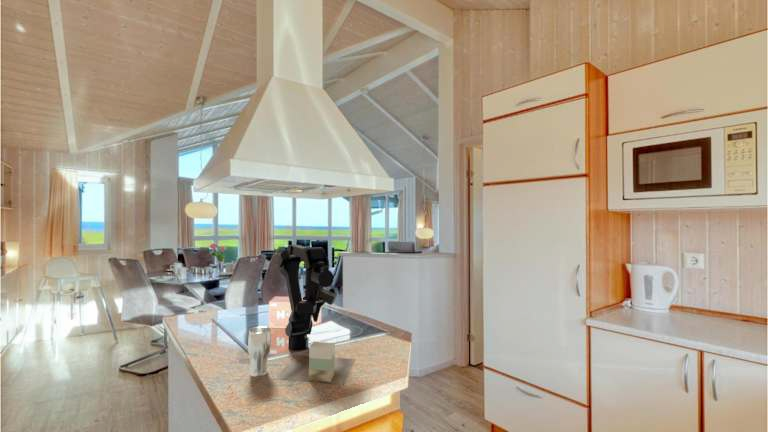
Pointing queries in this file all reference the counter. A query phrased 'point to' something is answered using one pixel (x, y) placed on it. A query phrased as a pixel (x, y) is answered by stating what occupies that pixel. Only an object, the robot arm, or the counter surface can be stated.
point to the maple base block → (321, 375)
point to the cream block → (322, 350)
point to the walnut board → (300, 370)
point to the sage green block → (321, 364)
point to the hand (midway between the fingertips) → (311, 325)
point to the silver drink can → (259, 350)
